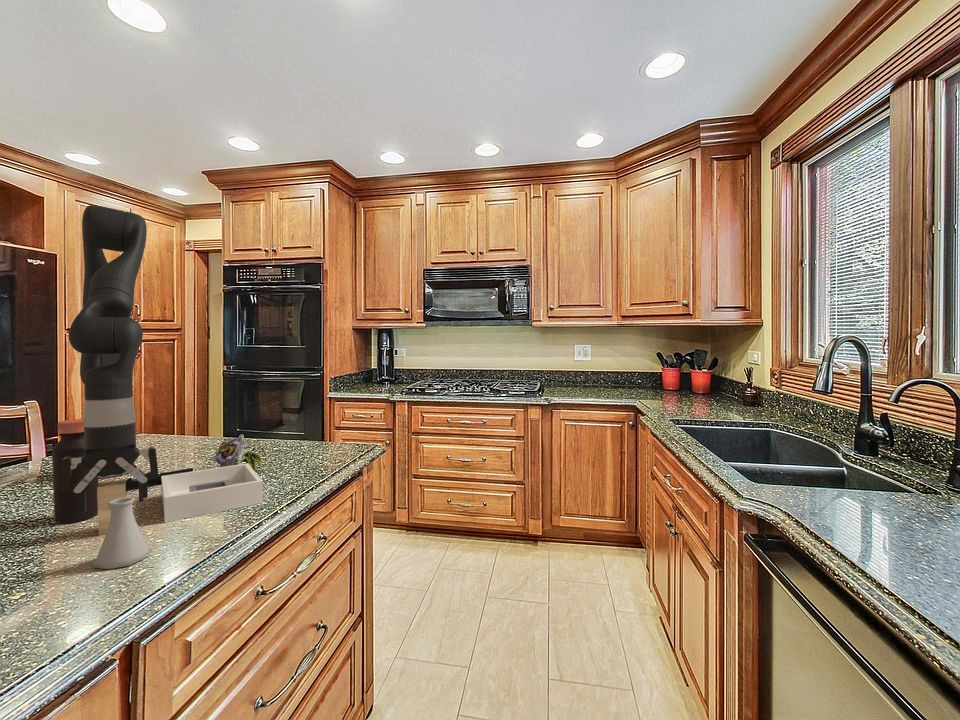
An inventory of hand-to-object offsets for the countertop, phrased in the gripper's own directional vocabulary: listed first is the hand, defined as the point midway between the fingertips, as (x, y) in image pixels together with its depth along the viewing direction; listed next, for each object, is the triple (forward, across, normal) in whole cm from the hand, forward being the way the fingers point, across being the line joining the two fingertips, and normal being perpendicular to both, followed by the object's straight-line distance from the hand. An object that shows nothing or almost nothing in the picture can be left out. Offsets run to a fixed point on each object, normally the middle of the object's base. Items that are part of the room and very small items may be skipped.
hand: (113, 506), depth 84 cm
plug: (+5, 0, 0) cm, 5 cm away
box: (+5, -17, -7) cm, 19 cm away
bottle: (+5, +6, -12) cm, 14 cm away
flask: (+5, -2, +16) cm, 17 cm away
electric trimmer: (+5, -7, -29) cm, 30 cm away
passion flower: (+5, -26, -30) cm, 40 cm away
